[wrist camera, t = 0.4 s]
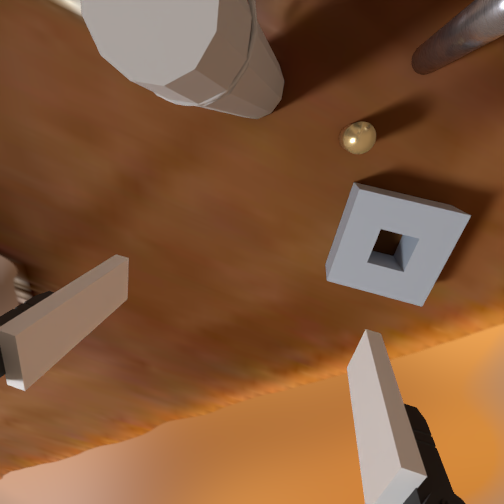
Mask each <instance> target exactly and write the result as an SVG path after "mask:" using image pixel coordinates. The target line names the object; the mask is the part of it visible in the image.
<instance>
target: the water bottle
mask: <svg viewBox="0 0 504 504" xmlns="http://www.w3.org/2000/svg"><path fill="white" fill-rule="evenodd" d="M248 2H249V4H248ZM248 2H247V0H81V13H82V16H83V18H84V20H85V22H86V25H87V27H88V29H89V31H90V33H91V35H92V37H93V40H94V42H95V44H96V46H97V48H98V50H99V52H100V55H101V56H102V57H103V58H105V59H106V60H107V61H108V62H109V63H110V64H111V65H113V66H114V67H115V68H116V69H117V70H118V71H120V72H121V73H122V74H123V75H124V76H125V77H127V78H128V79H129V80H130V81H132V82H134V83H136V84H138V85H140V86H142V87H145V88H147V89H149V90H151V91H153V92H154V93H155V94H156V95H157V96H159V97H161V98H163V99H165V100H167V101H169V102H172V103H174V104H177V105H184V106H198V107H202V108H207V109H211V110H216V111H220V112H224V113H229V114H233V115H237V116H242V117H247V118H253V119H259V118H261V117H263V116H266V115H268V114H270V113H272V111H273V110H274V109H275V107H276V106H277V105H278V103H279V102H280V101H281V99H282V93H283V87H284V78H283V75H282V72H281V68H280V65H279V63H278V61H277V59H276V57H275V55H274V53H273V51H272V49H271V47H270V45H269V43H268V41H267V39H266V37H265V35H264V34H263V32H262V30H261V28H260V26H259V24H258V22H257V14H256V3H255V0H248Z"/></svg>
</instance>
